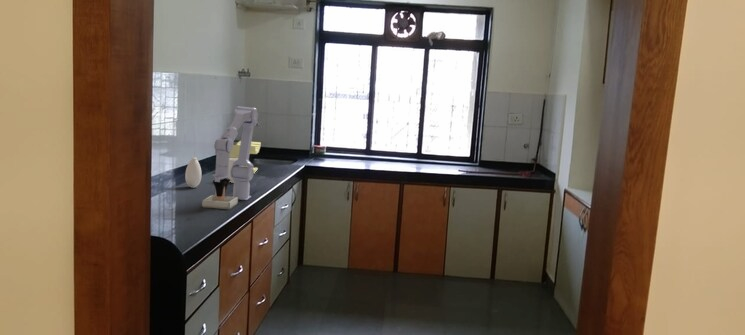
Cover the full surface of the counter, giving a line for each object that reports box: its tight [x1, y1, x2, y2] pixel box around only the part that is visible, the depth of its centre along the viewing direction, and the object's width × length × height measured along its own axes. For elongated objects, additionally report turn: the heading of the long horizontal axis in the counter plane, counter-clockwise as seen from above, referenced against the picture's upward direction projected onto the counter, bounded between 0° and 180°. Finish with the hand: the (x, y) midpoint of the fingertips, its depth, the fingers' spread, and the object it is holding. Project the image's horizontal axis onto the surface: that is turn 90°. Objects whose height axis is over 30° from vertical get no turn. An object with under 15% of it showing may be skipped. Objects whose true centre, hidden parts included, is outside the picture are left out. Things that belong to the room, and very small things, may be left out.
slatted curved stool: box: [230, 140, 262, 174], centre depth 365 cm, size 30×16×18 cm, turn 5°
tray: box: [201, 194, 239, 210], centre depth 256 cm, size 14×12×3 cm
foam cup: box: [227, 158, 243, 184], centre depth 320 cm, size 10×9×13 cm
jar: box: [214, 186, 226, 201], centre depth 255 cm, size 4×4×7 cm
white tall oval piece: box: [184, 152, 203, 189], centre depth 292 cm, size 8×8×18 cm
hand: (220, 195), depth 255 cm, fingers closed on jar, 4 cm apart
